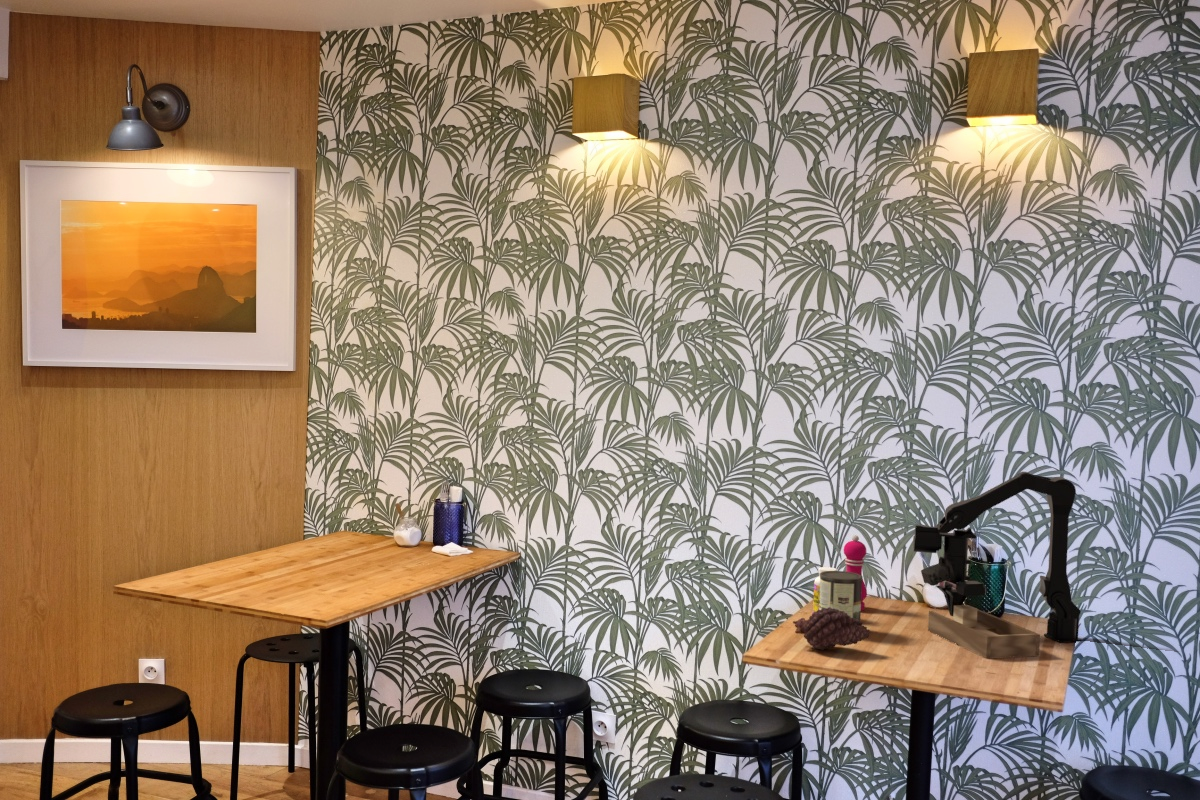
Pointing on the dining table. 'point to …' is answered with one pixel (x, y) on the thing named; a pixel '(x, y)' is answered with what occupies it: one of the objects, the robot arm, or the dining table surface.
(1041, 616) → the dining table surface
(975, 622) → the beech block
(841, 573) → the coffee can
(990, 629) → the tray
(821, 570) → the supplement bottle
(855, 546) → the pepper mill
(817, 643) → the pine cone
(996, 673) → the dining table surface
